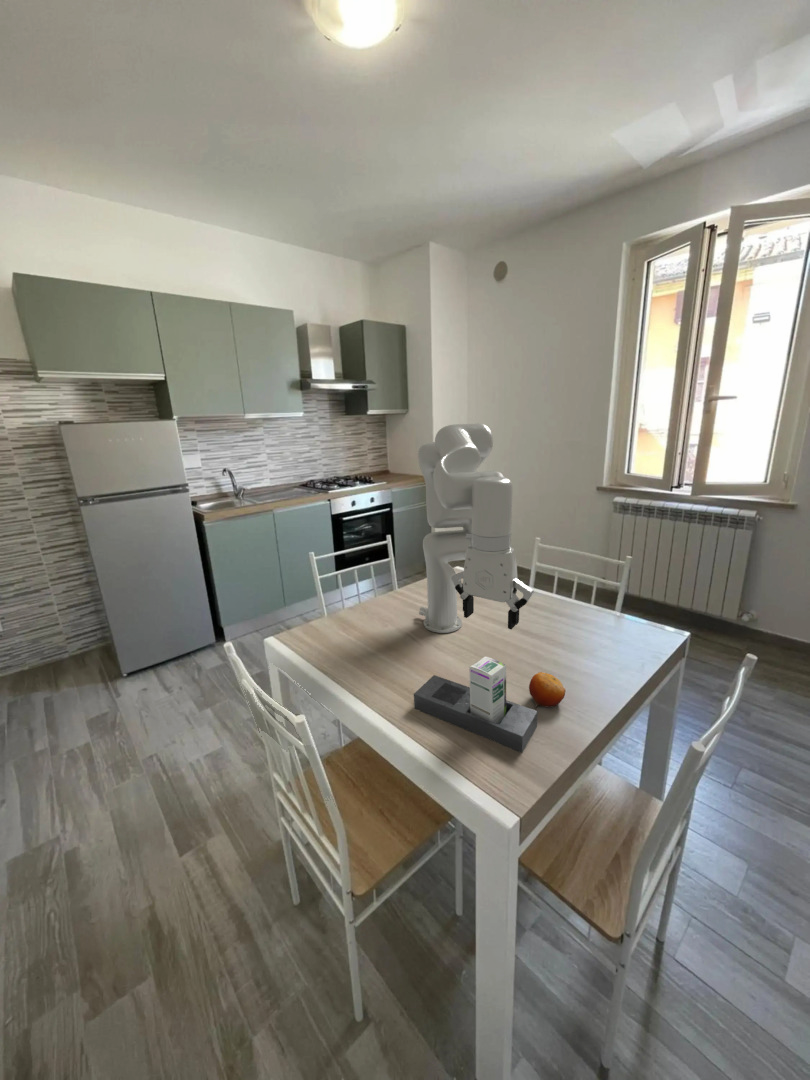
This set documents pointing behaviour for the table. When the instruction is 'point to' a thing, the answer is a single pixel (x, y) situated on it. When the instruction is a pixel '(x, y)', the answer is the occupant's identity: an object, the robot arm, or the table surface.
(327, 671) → the table surface
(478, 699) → the syrup box
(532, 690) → the fruit
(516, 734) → the grey slotted holder
